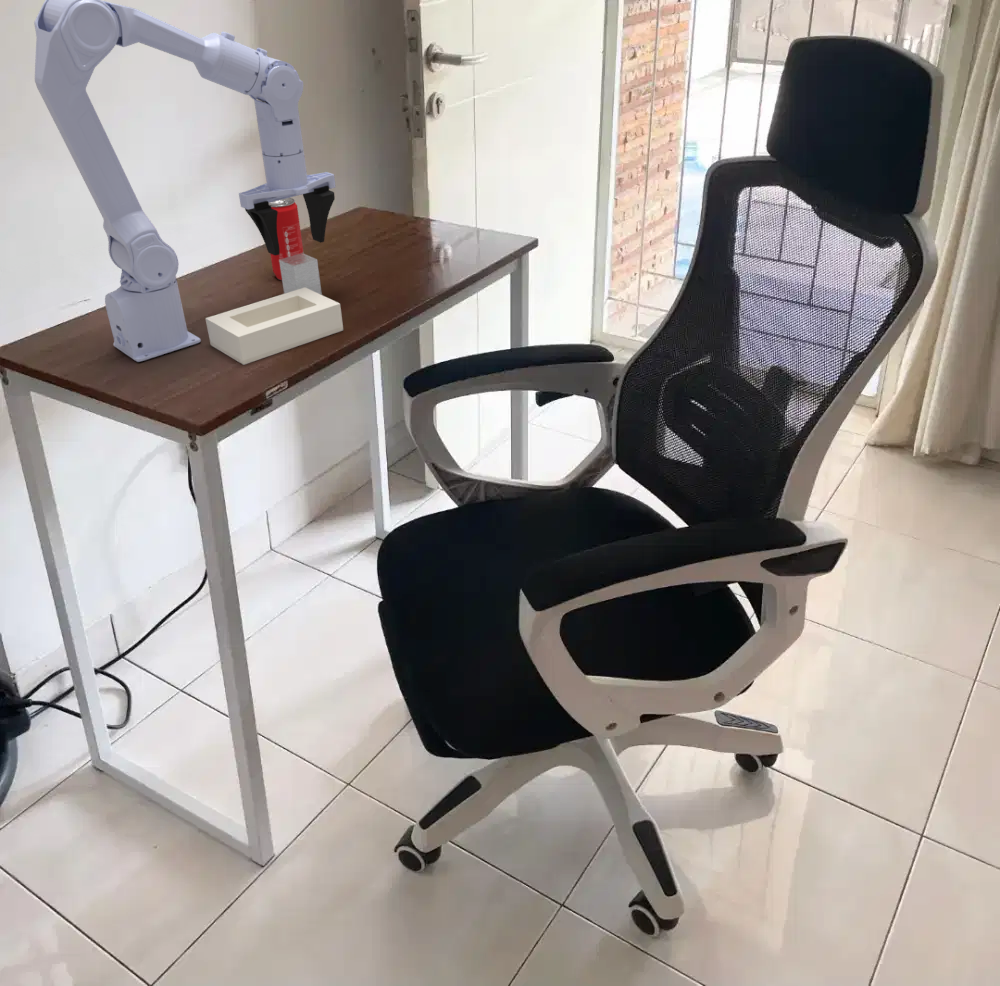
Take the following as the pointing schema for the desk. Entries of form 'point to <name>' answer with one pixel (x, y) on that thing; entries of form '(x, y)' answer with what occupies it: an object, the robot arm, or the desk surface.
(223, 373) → the desk surface
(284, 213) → the beverage can
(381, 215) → the desk surface
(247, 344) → the cream rectangular tray
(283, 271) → the grey rectangular block
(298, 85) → the robot arm
